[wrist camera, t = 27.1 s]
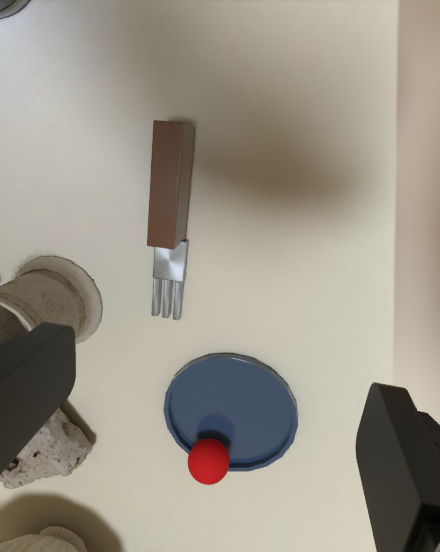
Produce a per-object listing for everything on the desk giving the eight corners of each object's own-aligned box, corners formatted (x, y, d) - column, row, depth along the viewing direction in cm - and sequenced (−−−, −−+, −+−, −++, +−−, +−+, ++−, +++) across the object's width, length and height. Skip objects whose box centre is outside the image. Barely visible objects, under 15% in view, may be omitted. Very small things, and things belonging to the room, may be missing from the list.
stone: (-3, 494, 47) (-49, 432, 44) (31, 455, 52) (-8, 396, 49) (80, 501, 42) (35, 431, 38) (109, 456, 47) (71, 390, 43)
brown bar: (164, 122, 34) (149, 119, 30) (198, 126, 34) (187, 124, 30) (152, 312, 40) (138, 329, 36) (181, 317, 39) (170, 335, 36)
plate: (147, 425, 44) (144, 431, 43) (201, 329, 40) (199, 334, 39) (255, 484, 45) (255, 491, 44) (323, 396, 40) (324, 402, 39)
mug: (73, 242, 39) (-14, 282, 28) (118, 328, 41) (53, 398, 30) (-35, 288, 43) (-151, 340, 31) (11, 365, 45) (-81, 438, 34)
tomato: (195, 432, 40) (203, 429, 45) (176, 474, 39) (185, 467, 44) (234, 453, 39) (238, 448, 44) (215, 497, 38) (221, 487, 43)
